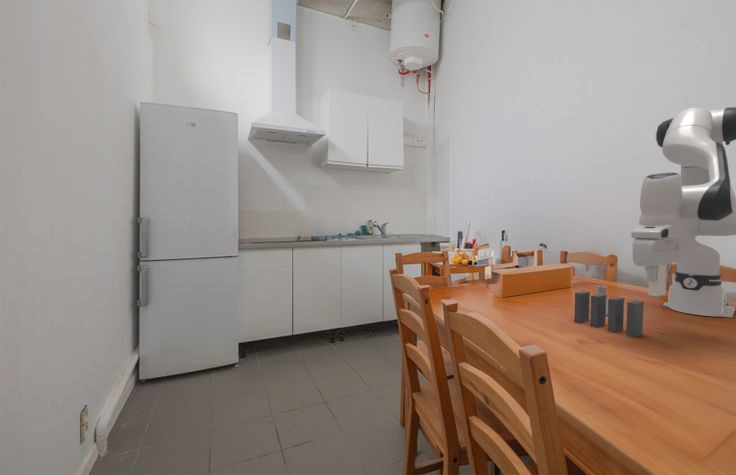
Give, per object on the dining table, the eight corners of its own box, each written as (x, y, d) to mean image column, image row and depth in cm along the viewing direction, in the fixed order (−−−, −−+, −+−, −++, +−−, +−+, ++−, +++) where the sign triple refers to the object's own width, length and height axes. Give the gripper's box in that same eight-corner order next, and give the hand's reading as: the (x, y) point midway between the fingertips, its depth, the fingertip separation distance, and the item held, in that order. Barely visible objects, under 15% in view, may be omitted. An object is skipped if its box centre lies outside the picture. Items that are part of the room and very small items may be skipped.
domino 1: (574, 321, 111) (575, 292, 110) (582, 319, 113) (583, 290, 113) (580, 323, 109) (581, 293, 108) (588, 321, 111) (589, 292, 111)
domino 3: (607, 330, 102) (608, 298, 101) (615, 327, 104) (616, 296, 104) (614, 332, 100) (615, 300, 100) (623, 329, 103) (624, 298, 102)
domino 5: (648, 295, 92) (649, 259, 92) (656, 293, 95) (657, 258, 94) (657, 296, 91) (658, 260, 90) (665, 294, 93) (666, 259, 92)
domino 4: (626, 335, 98) (627, 302, 97) (634, 332, 100) (635, 300, 99) (634, 337, 96) (635, 303, 95) (642, 334, 98) (643, 301, 98)
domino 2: (590, 326, 106) (591, 295, 106) (598, 323, 109) (599, 293, 108) (596, 327, 105) (597, 296, 104) (605, 325, 107) (606, 294, 106)
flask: (617, 316, 116) (618, 288, 116) (594, 315, 118) (595, 288, 117) (606, 311, 123) (607, 284, 123) (585, 310, 125) (586, 284, 124)
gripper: (662, 230, 99) (660, 275, 100) (627, 231, 90) (626, 281, 90) (689, 230, 94) (687, 278, 95) (656, 232, 84) (654, 285, 85)
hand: (657, 280), depth 92 cm, fingers closed on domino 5, 5 cm apart
